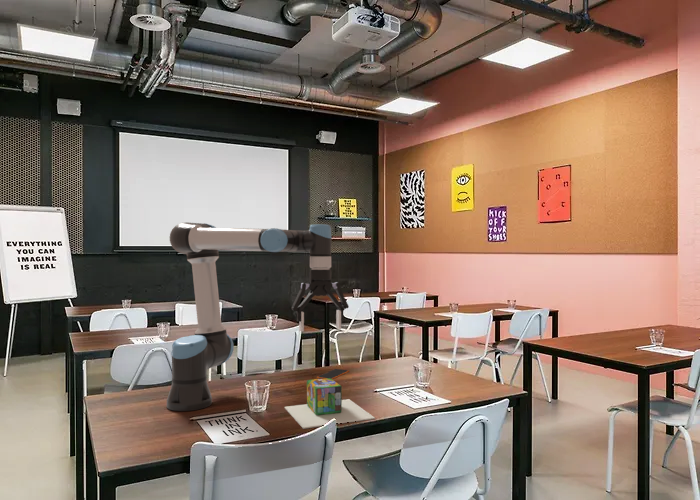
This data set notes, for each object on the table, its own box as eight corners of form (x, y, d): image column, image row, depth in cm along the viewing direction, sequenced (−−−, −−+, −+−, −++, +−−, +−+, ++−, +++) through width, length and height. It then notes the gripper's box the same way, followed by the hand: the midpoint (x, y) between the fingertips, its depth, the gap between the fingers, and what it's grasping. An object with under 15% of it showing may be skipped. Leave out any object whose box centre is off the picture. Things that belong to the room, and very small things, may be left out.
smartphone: (316, 378, 215) (316, 376, 215) (334, 370, 230) (334, 368, 230) (331, 380, 212) (331, 378, 212) (349, 372, 227) (349, 370, 227)
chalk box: (306, 379, 175) (317, 389, 161) (331, 377, 178) (345, 387, 164) (306, 406, 175) (317, 419, 161) (331, 404, 178) (345, 416, 164)
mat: (303, 428, 154) (303, 427, 154) (284, 407, 174) (284, 406, 174) (374, 418, 163) (374, 417, 163) (349, 400, 183) (349, 399, 183)
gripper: (349, 268, 184) (349, 326, 184) (282, 268, 174) (282, 330, 174) (357, 268, 177) (357, 329, 177) (288, 269, 167) (288, 333, 167)
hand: (320, 330), depth 176 cm, fingers open, 13 cm apart
